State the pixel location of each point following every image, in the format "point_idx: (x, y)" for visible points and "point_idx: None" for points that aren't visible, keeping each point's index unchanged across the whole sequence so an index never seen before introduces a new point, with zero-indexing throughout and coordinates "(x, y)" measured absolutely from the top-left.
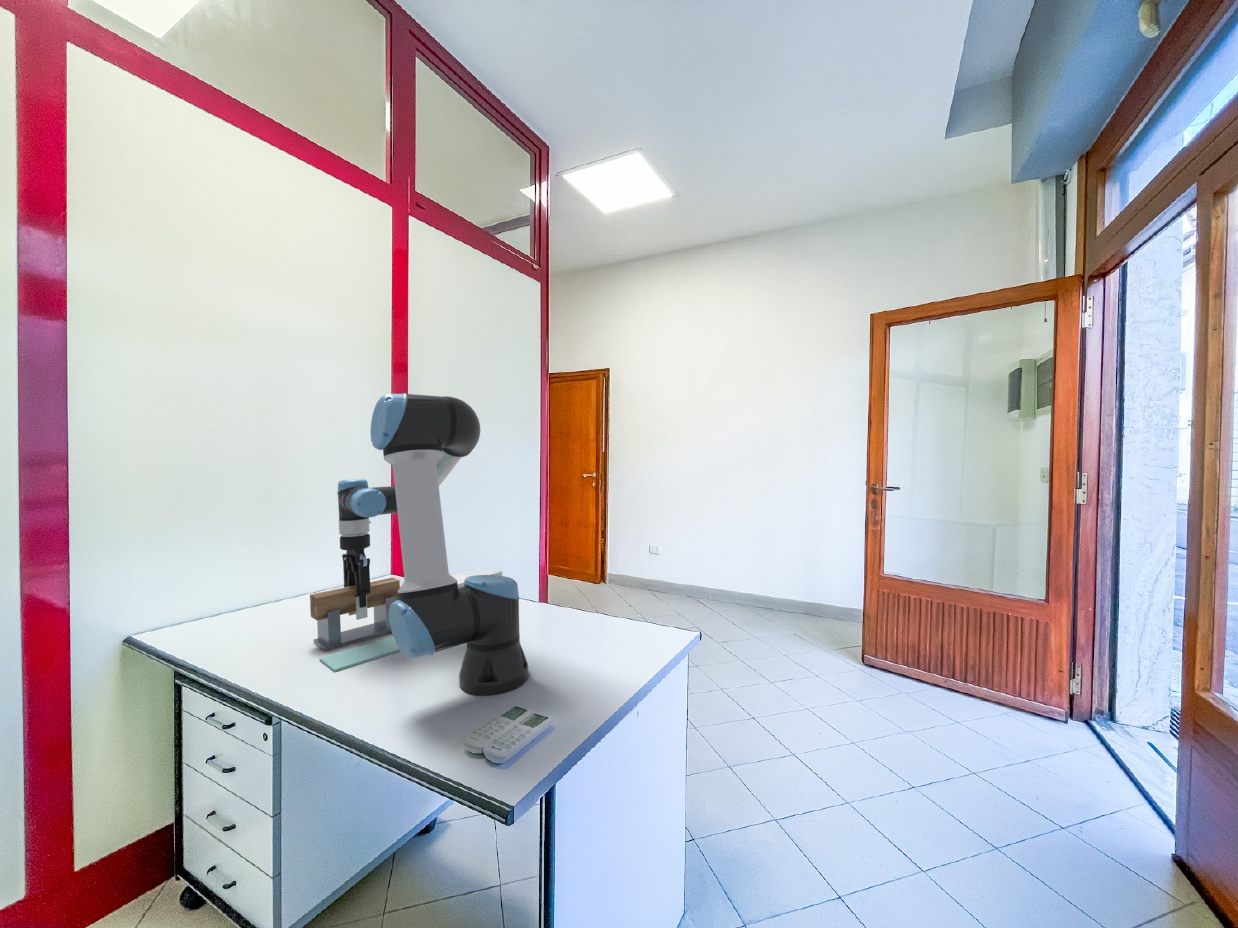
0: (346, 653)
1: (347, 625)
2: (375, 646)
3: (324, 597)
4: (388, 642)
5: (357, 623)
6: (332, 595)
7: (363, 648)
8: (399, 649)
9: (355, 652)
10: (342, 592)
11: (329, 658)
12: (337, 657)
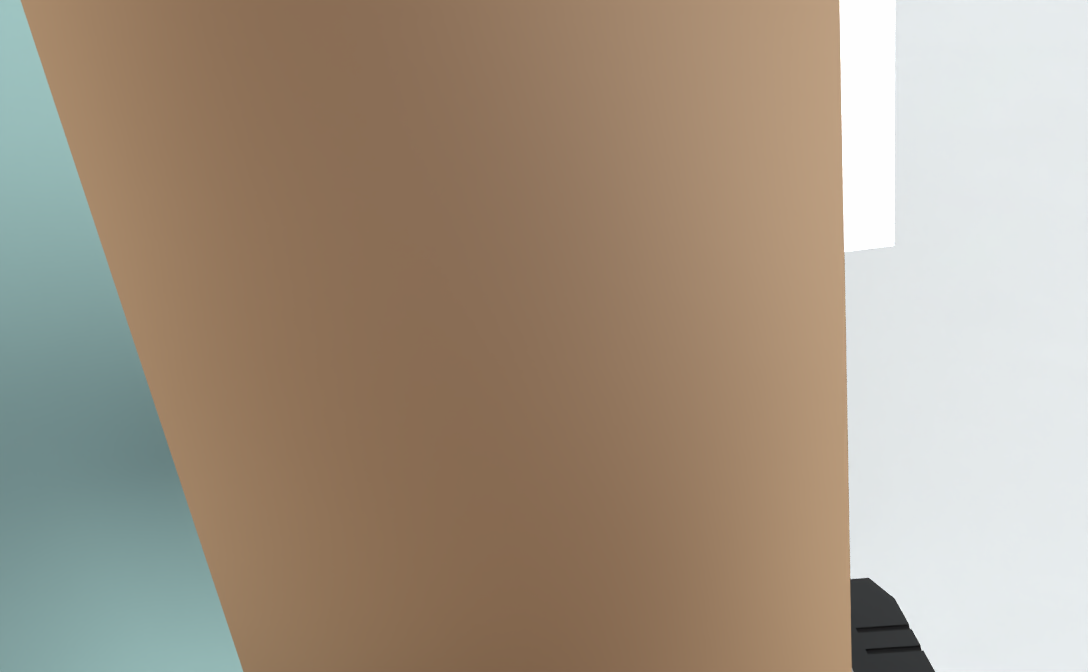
0: (74, 184)
1: (1070, 399)
2: (115, 432)
3: (78, 52)
4: (155, 537)
5: (1039, 490)
6: (149, 321)
7: (123, 340)
8: None
9: (54, 257)
10: (232, 613)
11: (20, 13)
12: (6, 87)
